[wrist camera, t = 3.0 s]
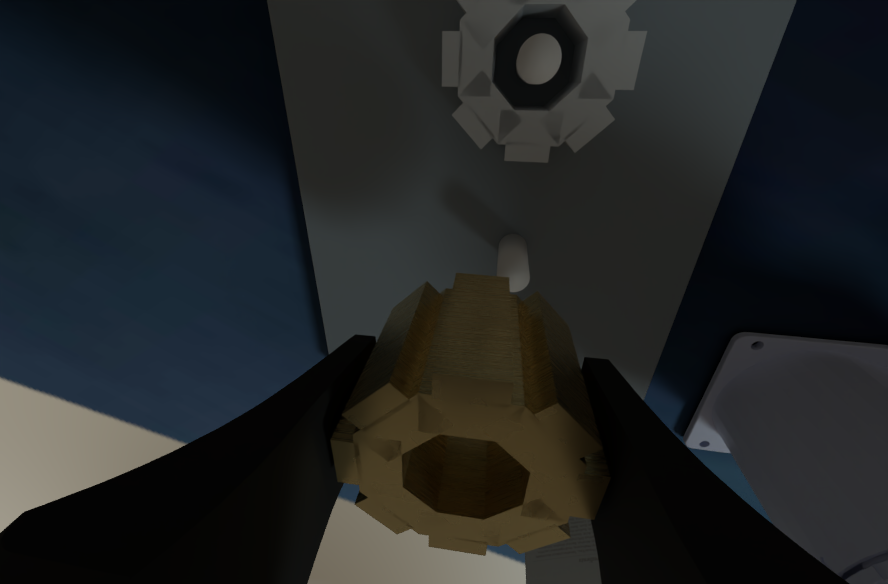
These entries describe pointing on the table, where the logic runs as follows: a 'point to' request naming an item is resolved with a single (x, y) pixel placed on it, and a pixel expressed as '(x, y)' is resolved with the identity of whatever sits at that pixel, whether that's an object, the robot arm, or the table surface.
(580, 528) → the small box
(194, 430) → the table surface
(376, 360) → the brass gear
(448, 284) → the gear board
